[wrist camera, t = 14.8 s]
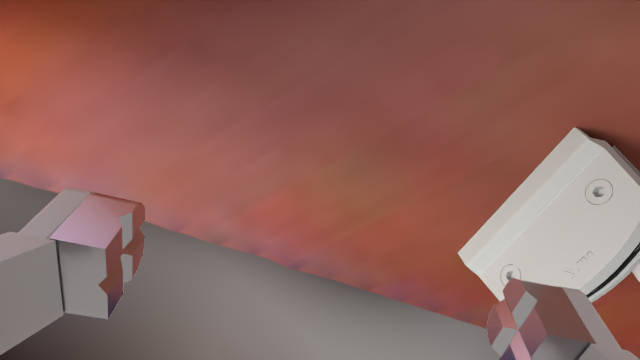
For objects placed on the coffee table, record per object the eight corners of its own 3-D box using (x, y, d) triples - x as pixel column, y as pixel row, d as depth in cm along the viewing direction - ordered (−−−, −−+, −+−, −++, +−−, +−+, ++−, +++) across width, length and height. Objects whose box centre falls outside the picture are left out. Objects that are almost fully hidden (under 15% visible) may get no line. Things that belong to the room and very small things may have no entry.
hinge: (577, 123, 37) (677, 200, 30) (608, 139, 39) (708, 215, 32) (455, 255, 45) (509, 343, 37) (486, 262, 47) (543, 347, 40)
